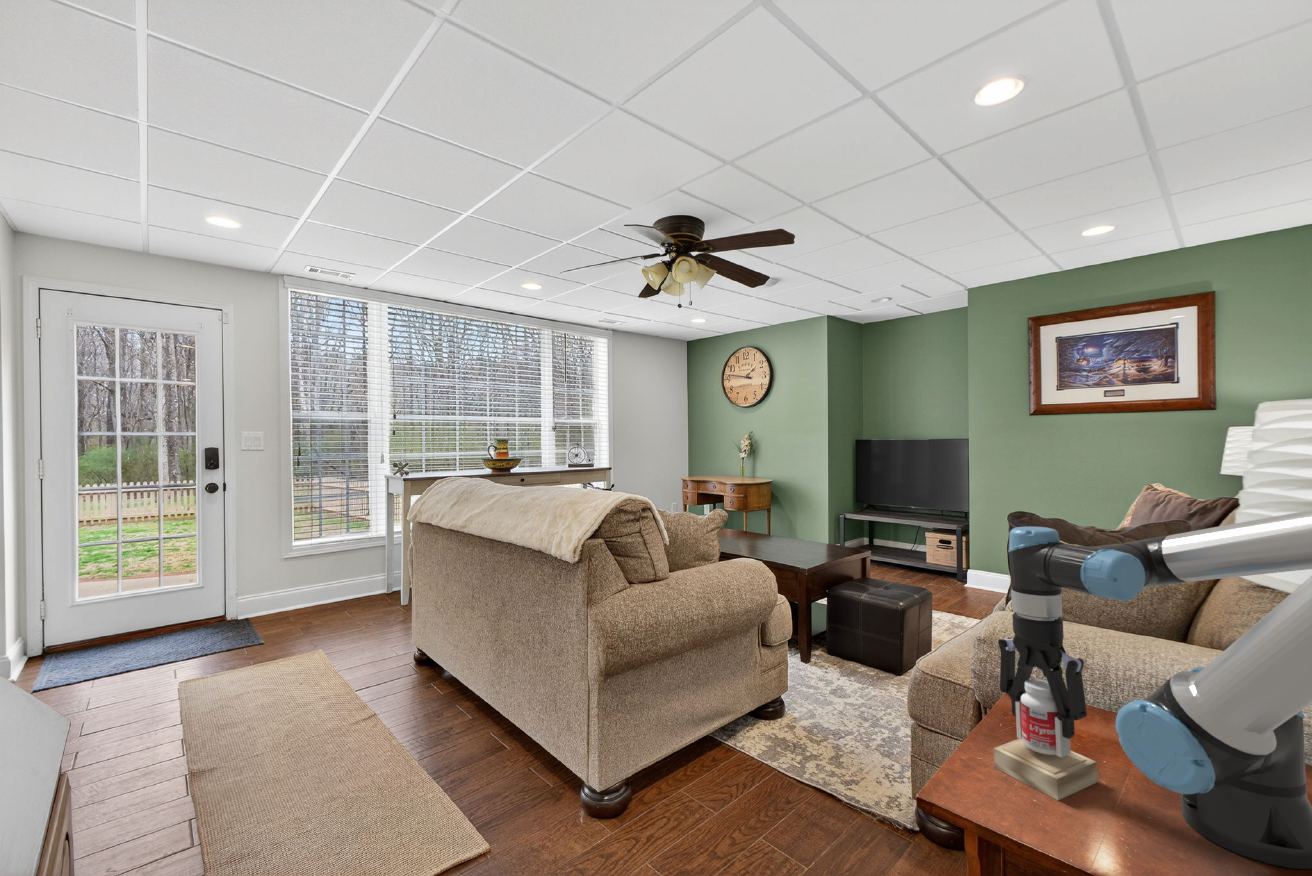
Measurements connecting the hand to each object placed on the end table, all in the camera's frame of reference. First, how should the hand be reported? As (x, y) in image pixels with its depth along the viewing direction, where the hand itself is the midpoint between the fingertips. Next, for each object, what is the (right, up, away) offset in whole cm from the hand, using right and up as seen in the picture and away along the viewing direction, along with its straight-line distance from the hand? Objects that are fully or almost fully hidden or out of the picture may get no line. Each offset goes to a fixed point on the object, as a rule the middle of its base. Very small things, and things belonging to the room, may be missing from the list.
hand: (1043, 745), depth 101 cm
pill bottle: (0, -1, 0) cm, 1 cm away
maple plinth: (0, -5, 0) cm, 5 cm away
